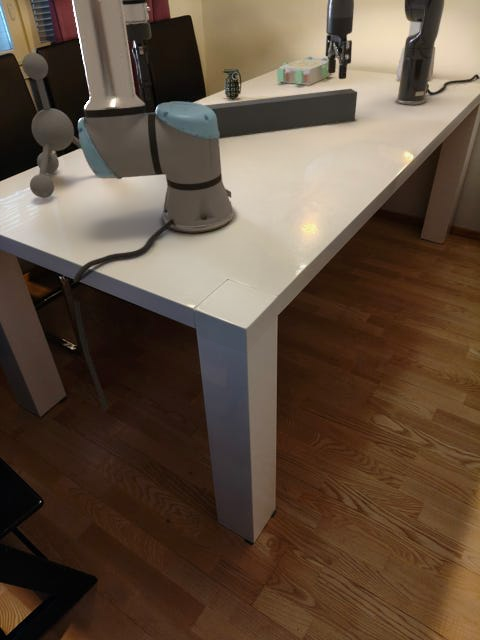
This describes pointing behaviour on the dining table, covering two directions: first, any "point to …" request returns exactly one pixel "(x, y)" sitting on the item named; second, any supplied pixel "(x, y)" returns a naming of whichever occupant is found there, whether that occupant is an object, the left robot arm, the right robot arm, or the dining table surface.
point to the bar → (284, 112)
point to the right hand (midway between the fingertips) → (336, 75)
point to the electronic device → (413, 29)
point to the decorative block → (303, 71)
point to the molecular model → (47, 129)
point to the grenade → (232, 83)
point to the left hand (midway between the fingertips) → (148, 107)
